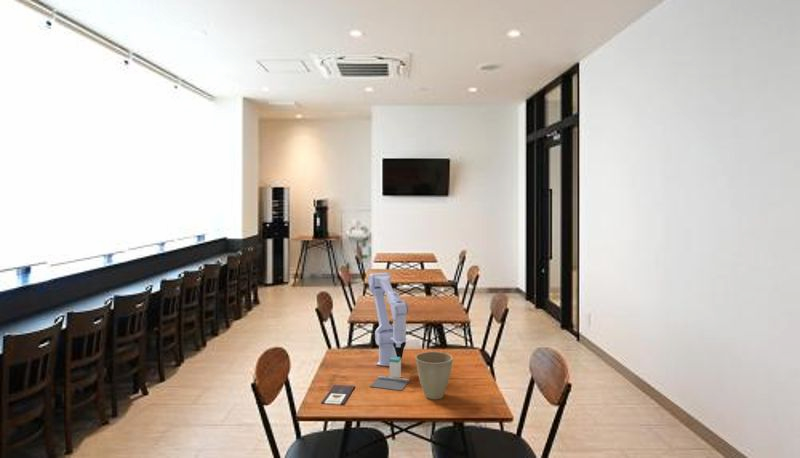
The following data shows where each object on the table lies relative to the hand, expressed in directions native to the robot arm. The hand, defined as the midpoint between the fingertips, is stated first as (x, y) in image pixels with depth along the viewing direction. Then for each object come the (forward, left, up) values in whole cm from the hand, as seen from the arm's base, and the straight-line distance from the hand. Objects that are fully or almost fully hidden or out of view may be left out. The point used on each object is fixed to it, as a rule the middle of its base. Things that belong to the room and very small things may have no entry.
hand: (399, 358), depth 222 cm
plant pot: (+20, +21, -7) cm, 30 cm away
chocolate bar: (+31, -16, -8) cm, 36 cm away
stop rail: (+9, 0, -7) cm, 12 cm away
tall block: (+6, 0, -7) cm, 9 cm away
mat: (+15, 0, -7) cm, 16 cm away
